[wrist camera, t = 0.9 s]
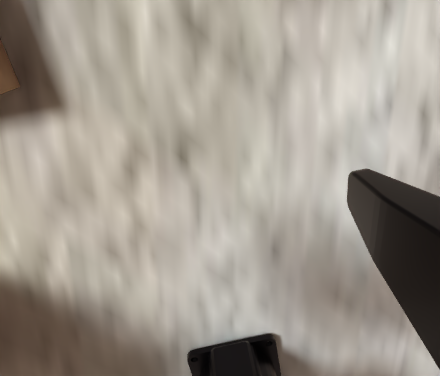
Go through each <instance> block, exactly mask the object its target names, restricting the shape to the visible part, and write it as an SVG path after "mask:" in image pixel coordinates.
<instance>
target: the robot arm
mask: <svg viewBox="0 0 440 376" xmlns="http://www.w3.org/2000/svg"><path fill="white" fill-rule="evenodd" d="M347 203H348V207H349V210H350V212H351V214H352V216H353V218H354V221H355V223H356V225H357V227H358V229H359V231H360V234H361V236H362V238H363V240H364V242H365V244H366V247H367V249H368V251H369V253H370V255H371V257H372V259H373V261H374V263H375V264H376V266H377V268H378V270H379V271H380V273H381V274H382V276H383V278H384V279H385V281H386V283H387V284H388V286H389V288H390V289H391V291H392V292H393V294H394V296H395V297H396V299H397V301H398V302H399V304H400V305H401V307H402V309H403V310H404V312H405V314H406V315H407V317H408V319H409V320H410V322H411V323H412V325H413V327H414V328H415V330H416V332H417V333H418V335H419V336H420V338H421V340H422V341H423V343H424V345H425V346H426V348H427V350H428V351H429V353H430V354H431V356H432V358H433V359H434V361H435V363H436V364H437V366H438V367H439V369H440V197H439V196H436V195H434V194H431V193H429V192H426V191H424V190H421V189H419V188H416V187H413V186H411V185H408V184H406V183H403V182H401V181H398V180H396V179H393V178H390V177H388V176H385V175H383V174H380V173H378V172H375V171H373V170H370V169H361V170H356V171H352V172H351V173H350V174H349V177H348V191H347ZM268 341H269V342H268ZM187 360H188V364H189V367H190V370H191V373H192V376H281V372H280V366H279V359H278V353H277V347H276V341H275V338H274V336H273V335H271V334H267V335H262V336H257V337H253V338H248V339H243V340H239V341H234V342H229V343H225V344H220V345H215V346H210V347H206V348H201V349H196V350H192V351H190V352H189V353H188V354H187Z"/></svg>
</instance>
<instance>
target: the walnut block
mask: <svg viewBox="0 0 440 376" xmlns="http://www.w3.org/2000/svg"><path fill="white" fill-rule="evenodd" d="M18 87H20V84H19V82H18V80H17V77H16V75H15V72H14V70H13V68H12V65H11V63H10V61H9V58H8V56H7V53H6V51H5V49H4V46H3V44H2V42H1V39H0V94H3V93H5V92H8V91H10V90H13V89H15V88H18Z"/></svg>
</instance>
